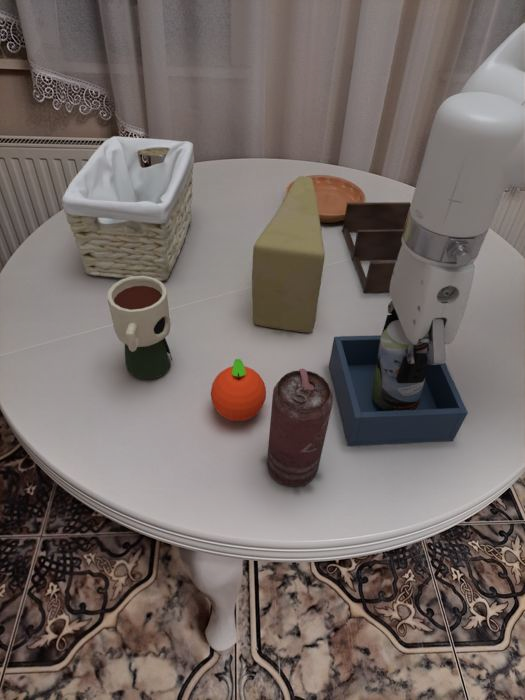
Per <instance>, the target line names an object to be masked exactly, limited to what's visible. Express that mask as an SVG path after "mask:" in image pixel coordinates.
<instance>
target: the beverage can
mask: <svg viewBox="0 0 525 700" xmlns="http://www.w3.org/2000/svg"><path fill="white" fill-rule="evenodd" d="M382 332H383V331H382ZM382 332H381V334H380V335H381V338H380V345H379V352H378V358H377V365H376V372H375V378H374V385H373V392H372V397H373V400H374V402H375V403H376V404H377V405H378V406H379V407H380V408H381V409H383V410H385V411H401V410H415V409H416V408H417V407H418V405H419V402H420V398H421V393H422V389H423V385H424V381H425V379H424V381H423V382H421V383H397V380H396V377H397V374H398V371H399V369H400V366H401V363H402V360H403V357H405V356H407V355H408V346H409V340H408V338H407V337H406V335H405V332H404V330H403V328H402V325H401V323H400V320H396V321H393V322H391V323H390V324H389V325H388V327H387V329H385V330H384V332H383V333H382ZM426 335H428V333H427V334H426ZM427 347H428V343H419V344H418V345H417V353H427Z"/></svg>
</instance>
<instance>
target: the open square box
mask: <svg viewBox="0 0 525 700" xmlns="http://www.w3.org/2000/svg"><path fill="white" fill-rule="evenodd" d="M381 335H382V334H379V335H377V334H375V335H343V336H342V335H341V336H333V342H332V346H331V352H330V357H329V362H328V368H329V373H330V378H331V382H332V386H333V391H334V394H335V400H336V403H337V407H338V411H339V415H340V416H339V417H340V420H341V424H342V428H343V432H344V438H345V441H346V445H347V447H355V446H356V447H357V446H374V445H376V446H377V445H397V444H398V445H399V444H419V443H421V444H422V443H441V442H442V443H443V442H454V441H455V439H456V437H457V434H458V433H459V431H460V429H461V428H462V425H463V423H464V422H465V419H466V418H467V416H468V414H469V411H468V410H467V408H466V405H465V403H464V401H463V398H462V397H461V394H460V392H459V390H458V388H457V386H456V383H455V381H454V379H453V376H452V375H451V373H450V371H449V368H448V366H447V364H446V363H445V364H444V365H430V366H429V369H428V371H427V374H426V376H425V381H424V385H423V389H422V393H421V398H420V402H419V405H418V407H417V408H416V409H415V410H401V411H385V410H383V409H381V408H380V407H379V406H378V405H377V404H376V403H375V402H374V400H373V397H372V392H373V385H374V378H375V372H376V365H377V358H378V352H379V345H380V338H381Z"/></svg>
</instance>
